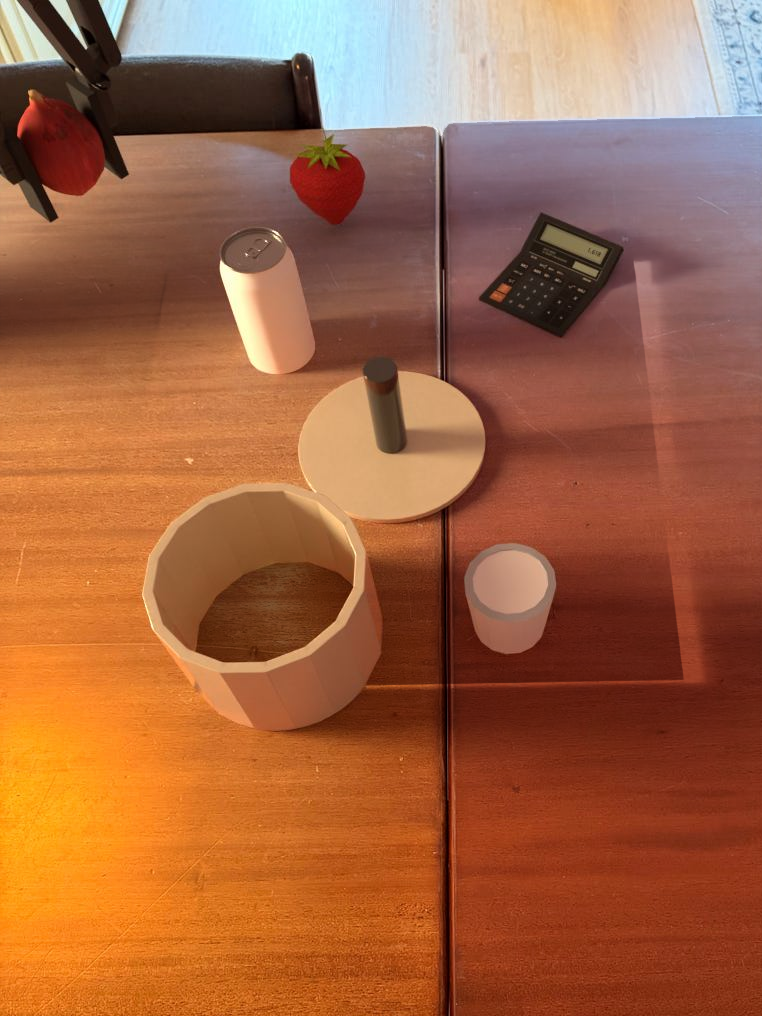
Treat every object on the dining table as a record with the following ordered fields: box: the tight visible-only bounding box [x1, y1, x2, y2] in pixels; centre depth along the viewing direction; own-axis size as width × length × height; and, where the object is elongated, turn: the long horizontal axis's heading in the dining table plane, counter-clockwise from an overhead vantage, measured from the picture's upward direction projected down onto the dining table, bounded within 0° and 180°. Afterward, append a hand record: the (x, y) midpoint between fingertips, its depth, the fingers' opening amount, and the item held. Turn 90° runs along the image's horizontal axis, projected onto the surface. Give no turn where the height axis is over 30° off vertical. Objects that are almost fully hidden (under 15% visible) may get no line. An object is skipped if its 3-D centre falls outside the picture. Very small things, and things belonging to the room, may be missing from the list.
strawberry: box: [289, 126, 366, 226], centre depth 93 cm, size 6×8×10 cm
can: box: [219, 225, 316, 375], centre depth 84 cm, size 6×6×12 cm
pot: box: [141, 482, 384, 732], centre depth 70 cm, size 16×16×10 cm
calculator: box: [478, 211, 625, 339], centre depth 91 cm, size 9×12×3 cm
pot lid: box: [297, 356, 487, 524], centre depth 79 cm, size 17×17×10 cm
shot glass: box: [463, 542, 557, 655], centre depth 72 cm, size 7×7×7 cm
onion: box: [17, 89, 105, 197], centre depth 68 cm, size 6×6×8 cm
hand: (80, 190), depth 72 cm, fingers closed on onion, 6 cm apart
